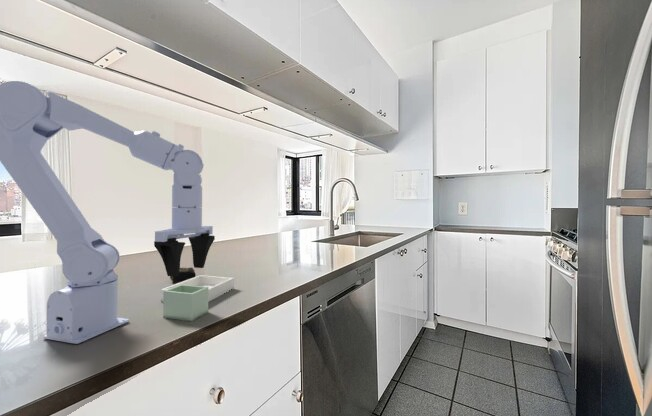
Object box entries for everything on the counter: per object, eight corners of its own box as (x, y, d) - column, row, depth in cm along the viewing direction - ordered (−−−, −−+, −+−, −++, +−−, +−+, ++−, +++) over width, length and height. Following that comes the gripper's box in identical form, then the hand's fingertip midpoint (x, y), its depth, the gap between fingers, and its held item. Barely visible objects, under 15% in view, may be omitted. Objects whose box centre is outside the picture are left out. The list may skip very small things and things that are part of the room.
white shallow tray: (200, 306, 64) (200, 293, 64) (160, 301, 66) (160, 289, 66) (234, 288, 77) (234, 277, 77) (200, 285, 80) (200, 275, 80)
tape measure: (195, 282, 83) (195, 270, 83) (169, 285, 80) (169, 272, 80) (194, 277, 89) (194, 266, 89) (170, 279, 86) (170, 267, 86)
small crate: (192, 321, 56) (192, 294, 56) (163, 317, 57) (163, 291, 57) (208, 312, 60) (208, 287, 60) (181, 308, 62) (181, 284, 62)
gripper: (177, 208, 51) (176, 282, 51) (224, 207, 65) (223, 265, 65) (145, 207, 52) (145, 279, 52) (198, 207, 66) (197, 263, 67)
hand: (186, 271), depth 59 cm, fingers open, 7 cm apart
